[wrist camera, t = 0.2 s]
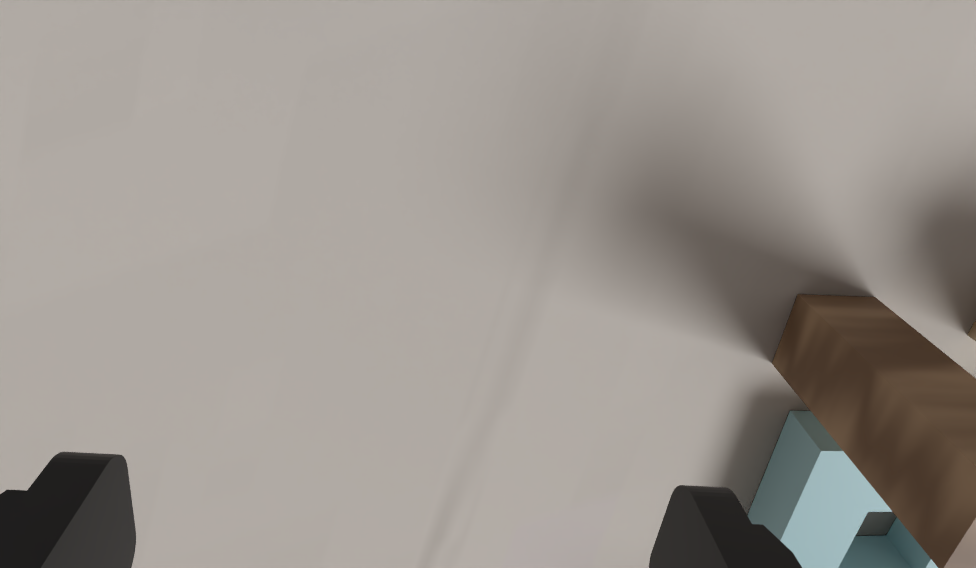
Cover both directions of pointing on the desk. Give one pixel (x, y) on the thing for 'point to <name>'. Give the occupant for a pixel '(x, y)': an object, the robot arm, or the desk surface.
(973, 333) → the beech peg short
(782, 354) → the walnut peg long
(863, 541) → the hole plate
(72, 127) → the desk surface
